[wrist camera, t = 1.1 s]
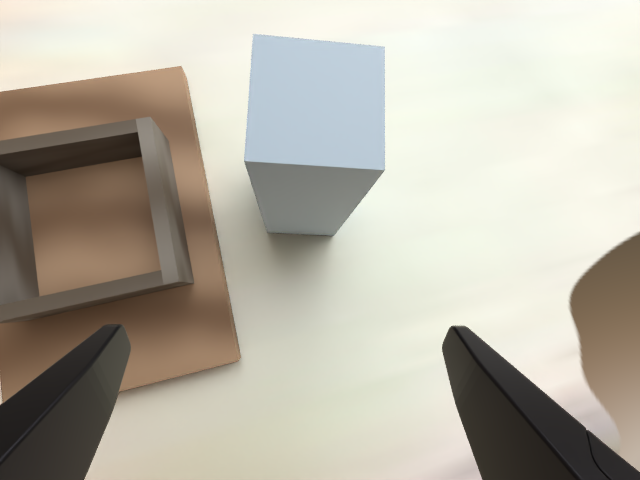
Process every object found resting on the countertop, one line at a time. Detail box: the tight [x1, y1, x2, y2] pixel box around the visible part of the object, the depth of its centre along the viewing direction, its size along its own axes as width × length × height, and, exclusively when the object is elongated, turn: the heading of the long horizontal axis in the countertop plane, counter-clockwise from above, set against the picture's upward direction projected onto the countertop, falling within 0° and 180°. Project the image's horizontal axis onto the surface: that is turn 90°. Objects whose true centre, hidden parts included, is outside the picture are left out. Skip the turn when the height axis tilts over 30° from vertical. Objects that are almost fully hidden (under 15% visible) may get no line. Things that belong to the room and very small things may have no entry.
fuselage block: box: [244, 34, 385, 236], centre depth 17 cm, size 5×5×12 cm
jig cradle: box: [0, 66, 241, 402], centre depth 20 cm, size 20×13×4 cm, turn 13°
